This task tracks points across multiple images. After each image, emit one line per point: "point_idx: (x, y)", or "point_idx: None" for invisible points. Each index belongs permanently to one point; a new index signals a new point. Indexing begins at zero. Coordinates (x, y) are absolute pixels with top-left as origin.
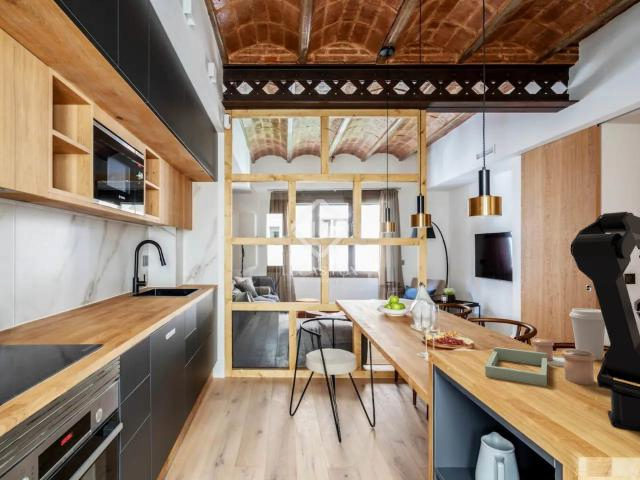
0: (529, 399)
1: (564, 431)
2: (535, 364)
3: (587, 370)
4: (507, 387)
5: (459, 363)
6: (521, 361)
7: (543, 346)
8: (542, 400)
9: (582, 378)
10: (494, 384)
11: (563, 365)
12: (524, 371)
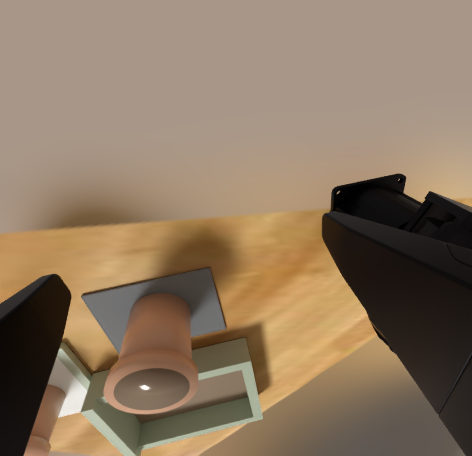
0: (325, 334)
1: None
2: None
3: (180, 331)
4: (286, 366)
5: (210, 434)
6: None
7: (44, 436)
8: (319, 323)
9: (188, 319)
10: (284, 378)
11: (58, 362)
12: (251, 385)
